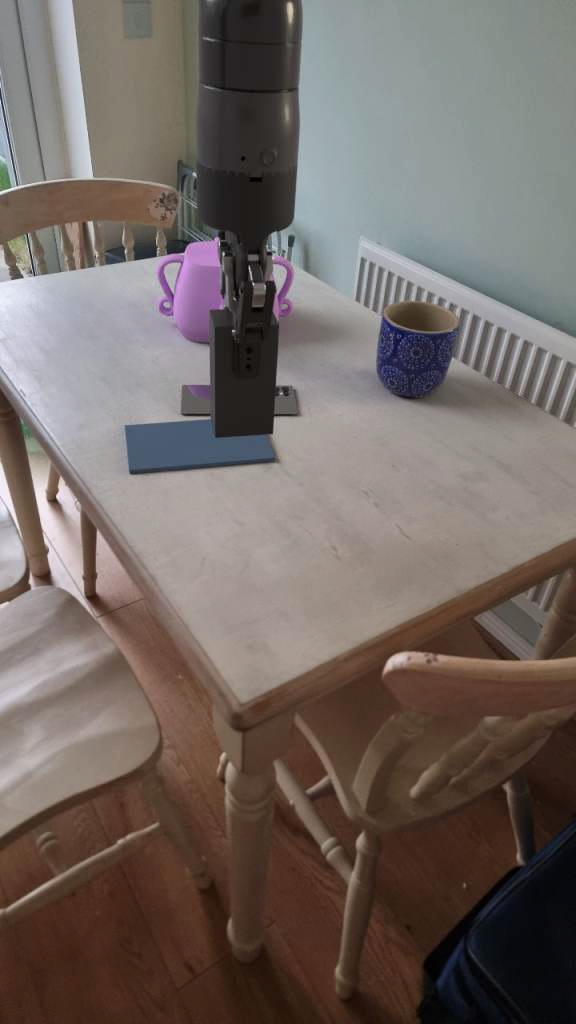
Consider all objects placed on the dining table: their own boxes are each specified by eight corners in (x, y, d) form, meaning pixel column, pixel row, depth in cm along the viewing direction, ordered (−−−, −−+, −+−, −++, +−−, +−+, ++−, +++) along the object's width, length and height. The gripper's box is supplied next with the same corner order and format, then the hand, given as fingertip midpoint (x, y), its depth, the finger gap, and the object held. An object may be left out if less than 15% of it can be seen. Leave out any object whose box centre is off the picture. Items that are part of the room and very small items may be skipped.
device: (215, 438, 64) (214, 323, 57) (210, 418, 67) (209, 305, 60) (273, 434, 65) (279, 321, 58) (266, 414, 68) (271, 304, 61)
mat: (129, 474, 84) (129, 470, 83) (125, 428, 91) (124, 425, 91) (274, 461, 87) (275, 457, 87) (259, 419, 95) (259, 415, 94)
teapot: (230, 293, 127) (230, 211, 118) (314, 332, 117) (321, 246, 107) (145, 321, 116) (139, 234, 107) (230, 367, 106) (230, 275, 96)
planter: (401, 362, 110) (414, 294, 103) (458, 389, 105) (475, 319, 97) (356, 383, 104) (366, 312, 97) (414, 413, 98) (429, 340, 91)
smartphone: (182, 384, 100) (292, 383, 101) (182, 387, 100) (292, 387, 102) (180, 412, 94) (297, 411, 96) (181, 416, 94) (297, 414, 96)
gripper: (186, 131, 55) (191, 332, 66) (208, 181, 45) (210, 409, 56) (277, 133, 57) (268, 329, 68) (319, 182, 46) (300, 404, 57)
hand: (242, 364), depth 62 cm, fingers closed on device, 3 cm apart
